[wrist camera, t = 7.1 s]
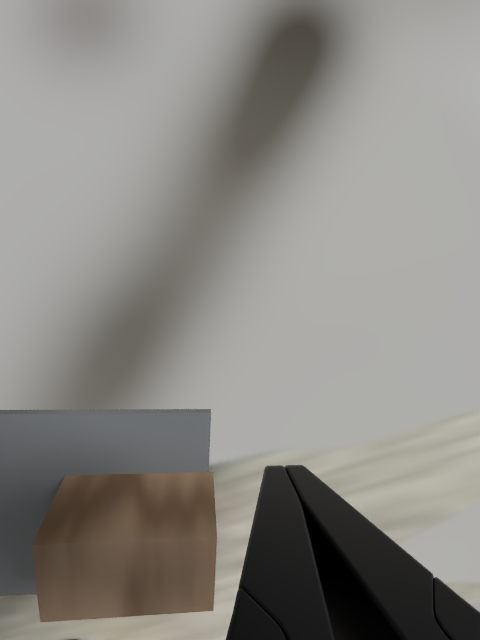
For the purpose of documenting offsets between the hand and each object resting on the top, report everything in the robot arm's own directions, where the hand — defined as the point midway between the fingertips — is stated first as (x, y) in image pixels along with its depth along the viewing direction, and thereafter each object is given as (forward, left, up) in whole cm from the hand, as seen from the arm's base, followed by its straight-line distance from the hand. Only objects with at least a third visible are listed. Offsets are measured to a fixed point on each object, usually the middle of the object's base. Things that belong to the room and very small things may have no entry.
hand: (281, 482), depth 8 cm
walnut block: (+9, +11, -9) cm, 17 cm away
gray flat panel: (+8, +11, -12) cm, 18 cm away
